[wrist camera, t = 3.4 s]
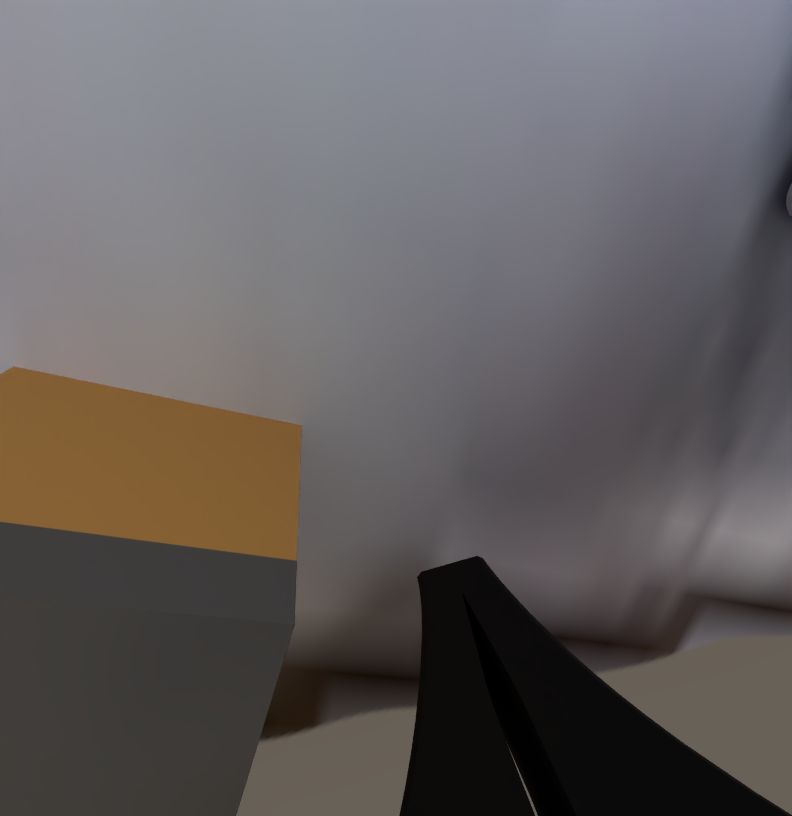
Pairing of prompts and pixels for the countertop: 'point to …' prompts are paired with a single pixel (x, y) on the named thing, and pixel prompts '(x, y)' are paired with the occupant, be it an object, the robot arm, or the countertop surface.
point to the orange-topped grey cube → (138, 597)
